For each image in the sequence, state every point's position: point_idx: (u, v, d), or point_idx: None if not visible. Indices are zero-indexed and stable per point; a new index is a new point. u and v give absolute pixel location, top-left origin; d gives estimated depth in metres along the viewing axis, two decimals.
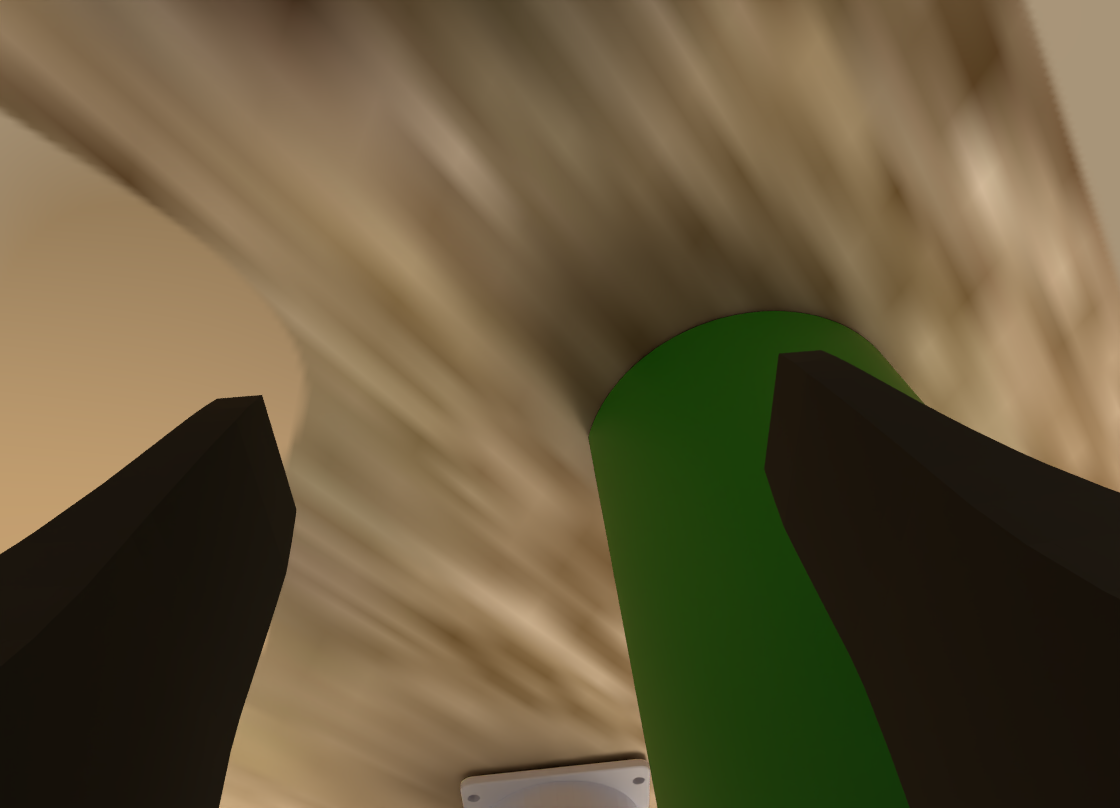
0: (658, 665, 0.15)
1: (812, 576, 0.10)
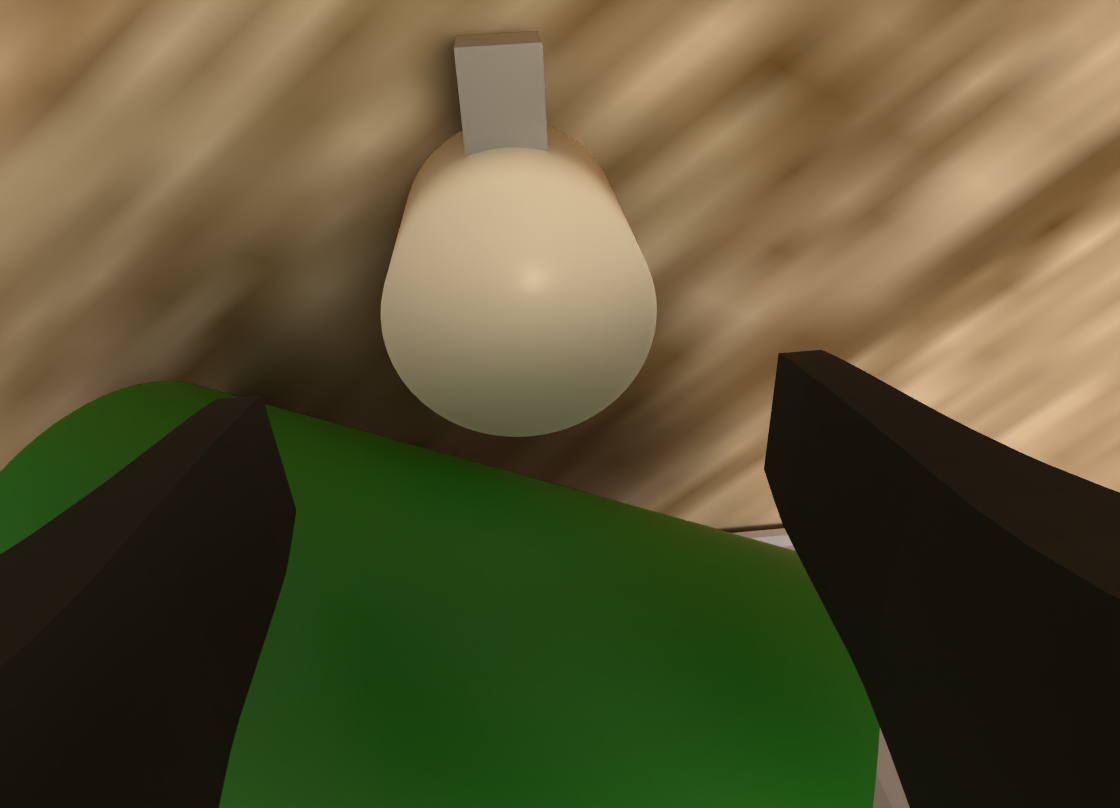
0: None
1: (812, 576, 0.10)
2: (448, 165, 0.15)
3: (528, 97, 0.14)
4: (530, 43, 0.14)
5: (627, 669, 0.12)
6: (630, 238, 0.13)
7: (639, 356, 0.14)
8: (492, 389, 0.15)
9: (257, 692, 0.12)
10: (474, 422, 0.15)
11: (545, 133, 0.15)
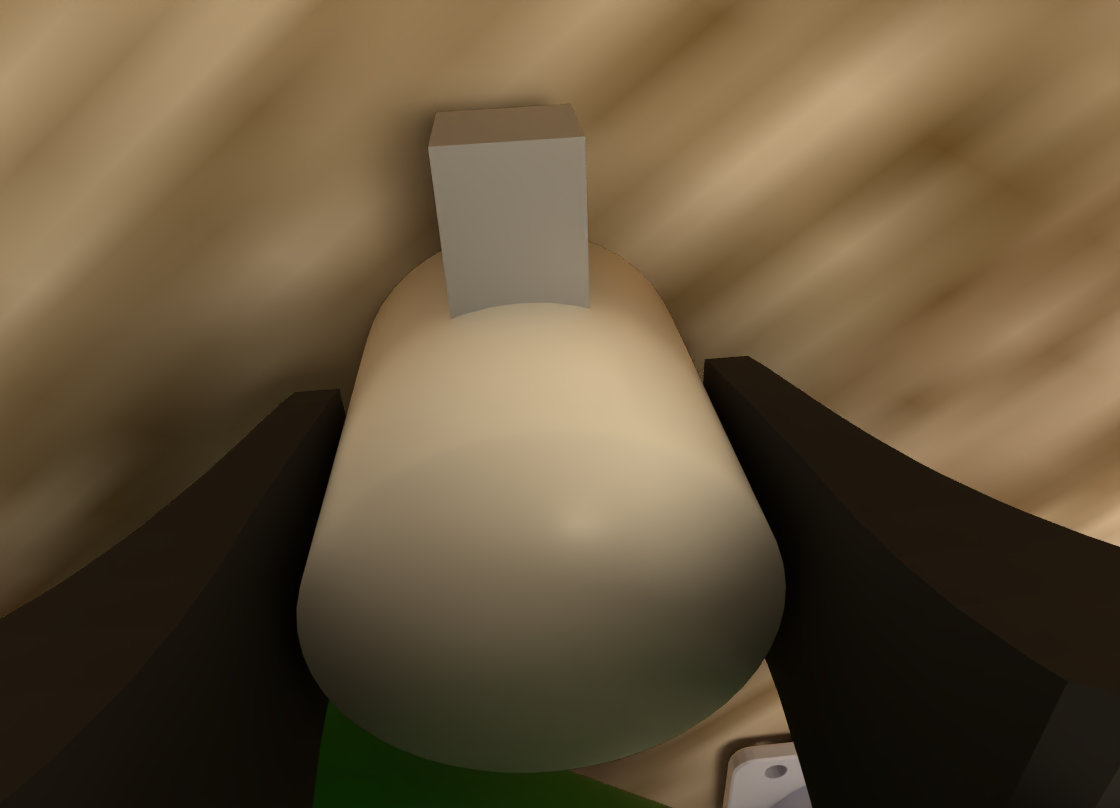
0: None
1: None
2: (422, 332, 0.09)
3: (558, 225, 0.08)
4: (564, 138, 0.08)
5: None
6: (749, 502, 0.07)
7: (748, 666, 0.08)
8: (496, 716, 0.09)
9: None
10: (467, 758, 0.09)
11: (586, 281, 0.09)
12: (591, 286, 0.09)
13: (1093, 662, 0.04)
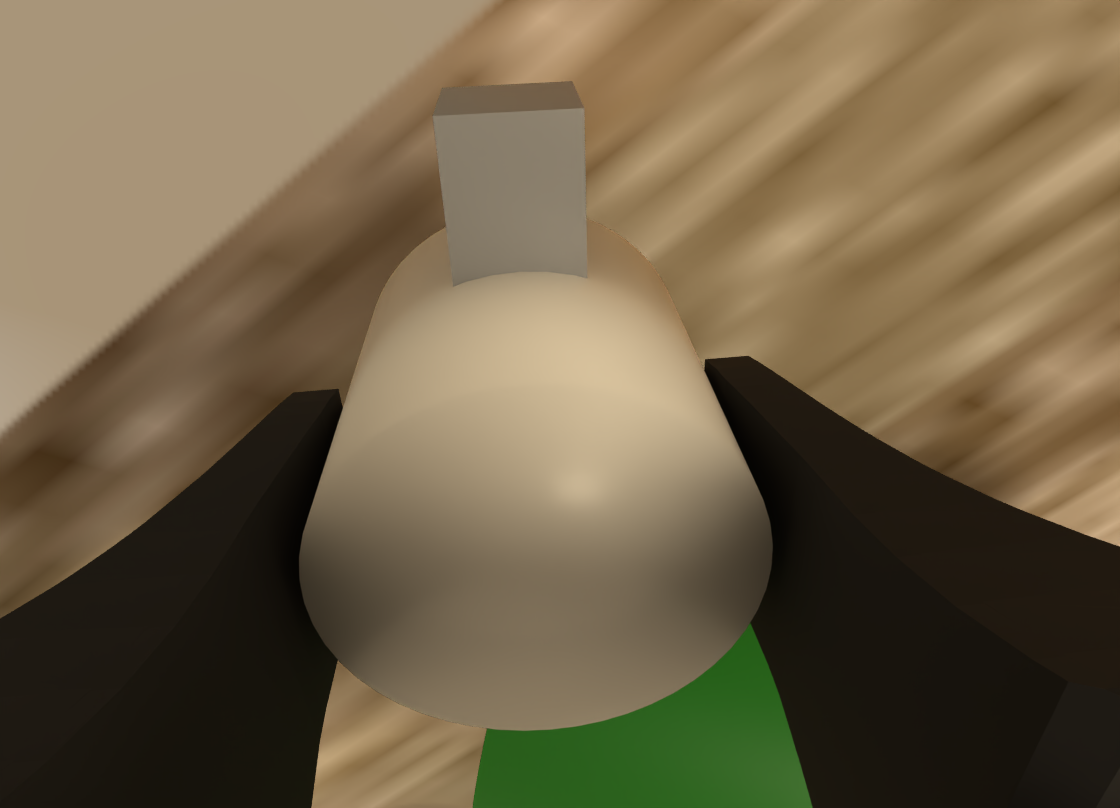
0: None
1: None
2: (425, 299, 0.09)
3: (558, 195, 0.09)
4: (563, 109, 0.08)
5: None
6: (737, 459, 0.08)
7: (736, 626, 0.09)
8: (491, 672, 0.09)
9: None
10: (462, 714, 0.09)
11: (584, 251, 0.09)
12: (590, 259, 0.10)
13: (1091, 662, 0.04)
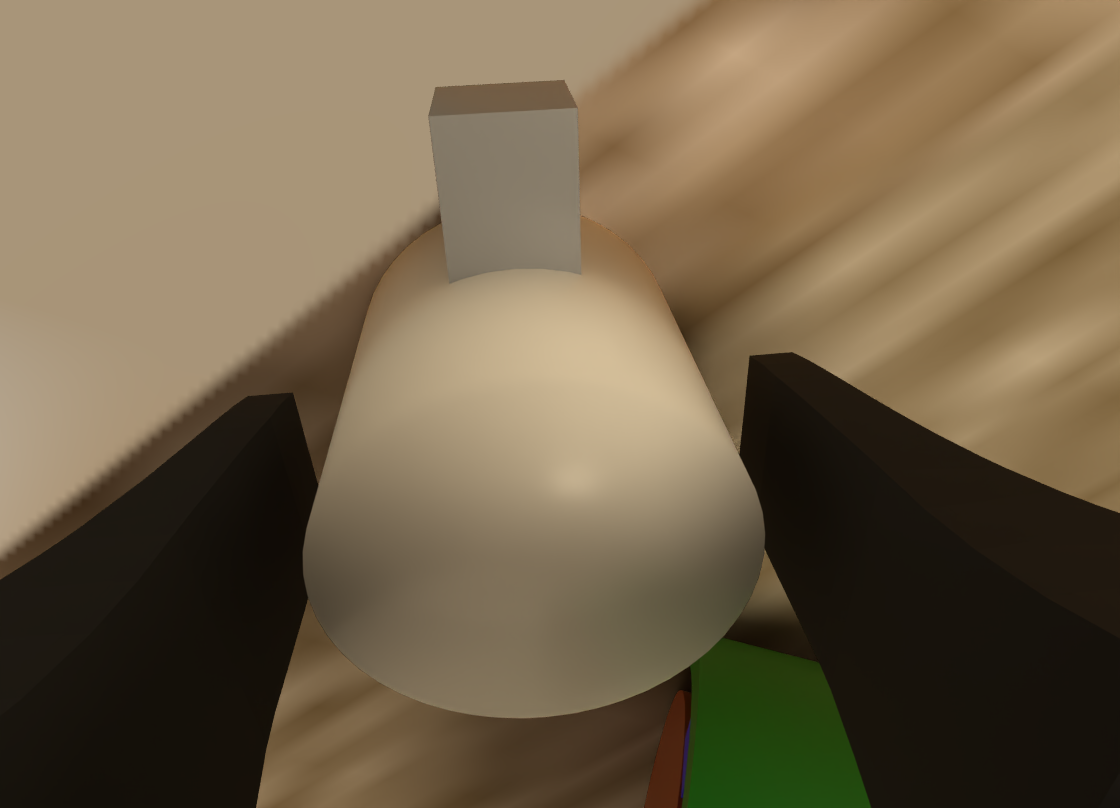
0: None
1: (782, 579, 0.10)
2: (422, 296, 0.09)
3: (552, 194, 0.09)
4: (557, 109, 0.08)
5: None
6: (730, 451, 0.08)
7: (729, 613, 0.09)
8: (491, 661, 0.09)
9: None
10: (462, 703, 0.09)
11: (578, 248, 0.09)
12: (583, 255, 0.10)
13: None
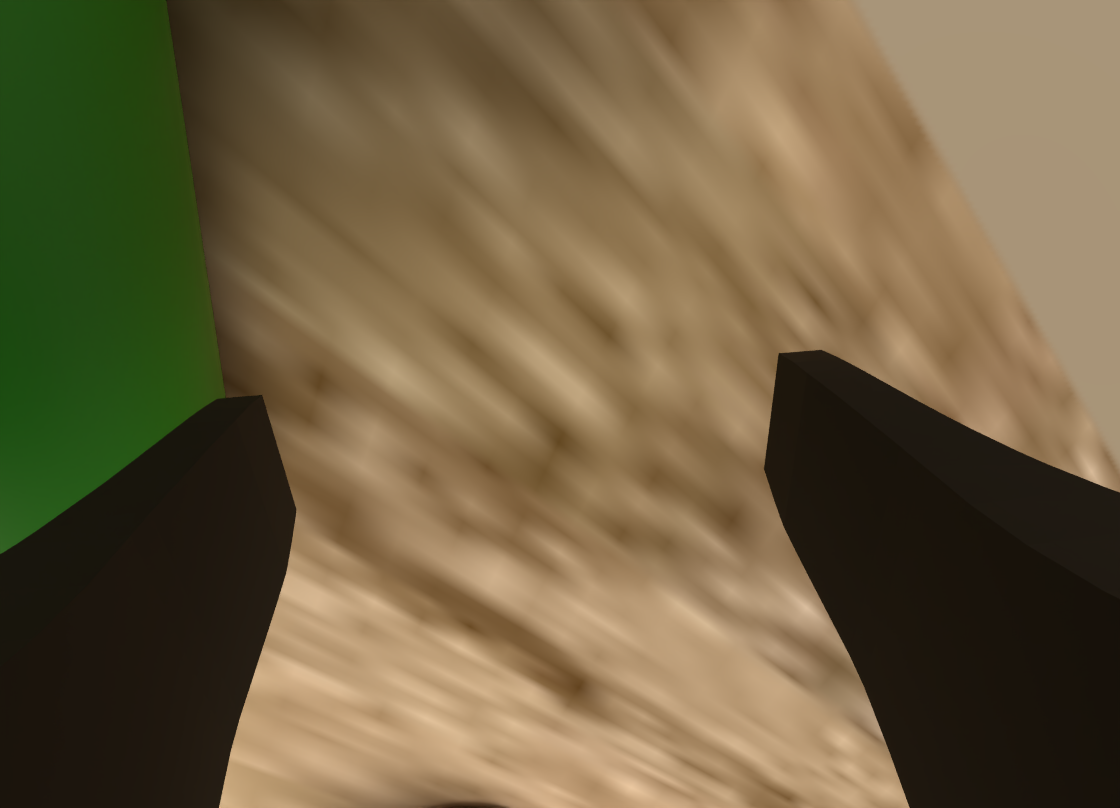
0: None
1: (812, 576, 0.10)
2: None
3: None
4: None
5: None
6: None
7: None
8: None
9: None
10: None
11: None
12: None
13: None
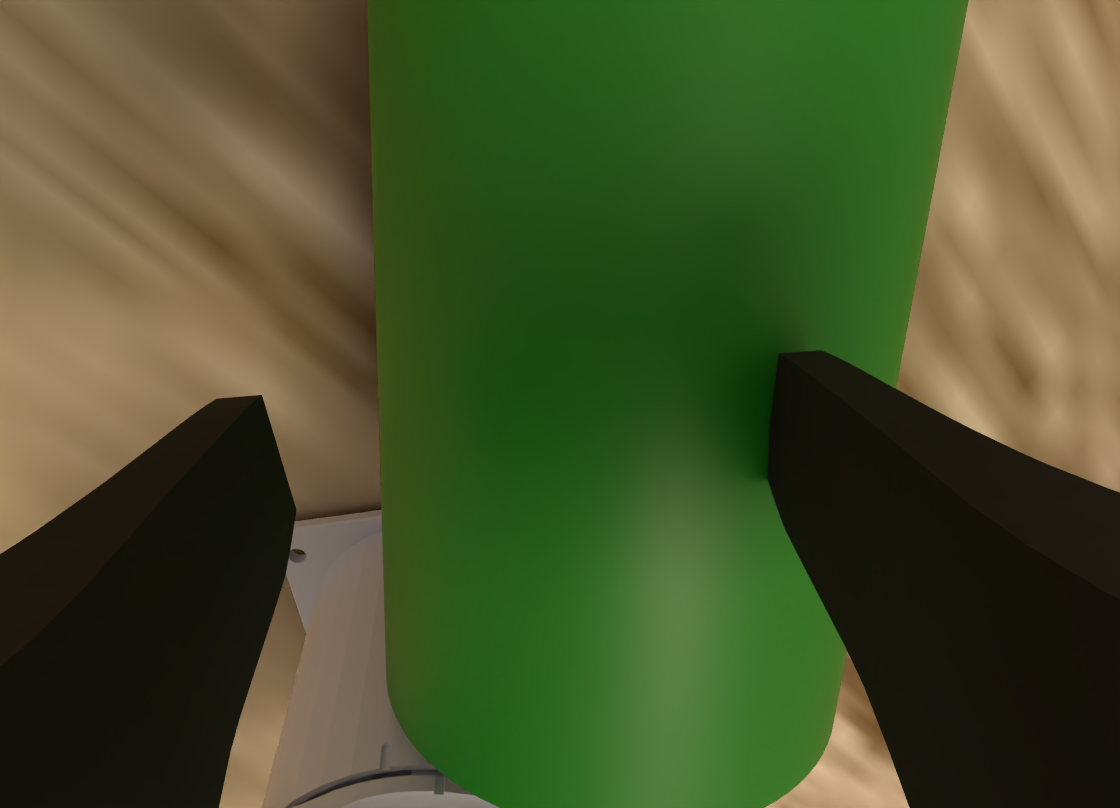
0: (385, 419, 0.14)
1: (812, 576, 0.10)
2: None
3: None
4: None
5: None
6: None
7: None
8: None
9: (896, 308, 0.12)
10: None
11: None
12: None
13: None
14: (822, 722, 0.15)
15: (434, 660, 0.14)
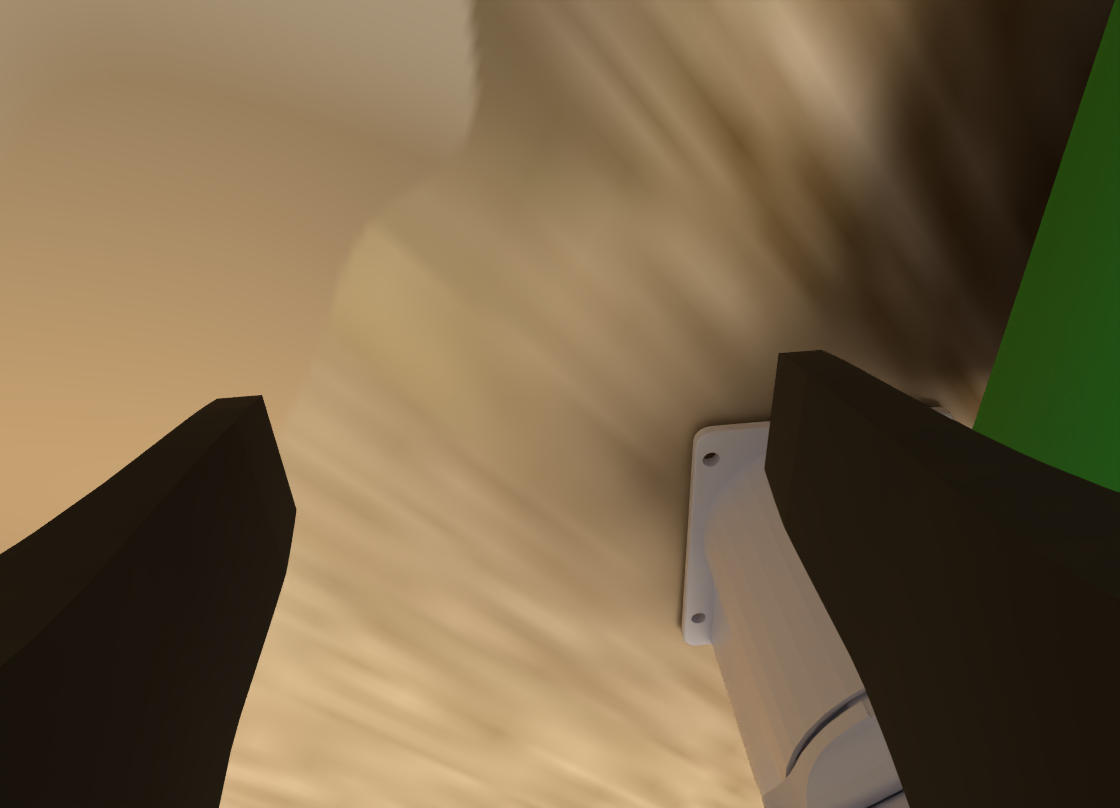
0: (1065, 316, 0.14)
1: (812, 576, 0.10)
2: None
3: None
4: None
5: None
6: None
7: None
8: None
9: None
10: None
11: None
12: None
13: None
14: None
15: None
